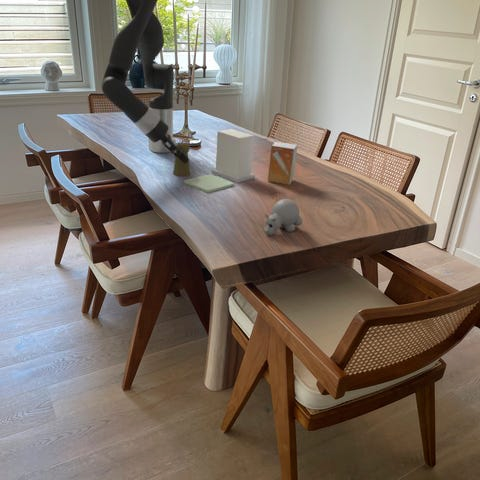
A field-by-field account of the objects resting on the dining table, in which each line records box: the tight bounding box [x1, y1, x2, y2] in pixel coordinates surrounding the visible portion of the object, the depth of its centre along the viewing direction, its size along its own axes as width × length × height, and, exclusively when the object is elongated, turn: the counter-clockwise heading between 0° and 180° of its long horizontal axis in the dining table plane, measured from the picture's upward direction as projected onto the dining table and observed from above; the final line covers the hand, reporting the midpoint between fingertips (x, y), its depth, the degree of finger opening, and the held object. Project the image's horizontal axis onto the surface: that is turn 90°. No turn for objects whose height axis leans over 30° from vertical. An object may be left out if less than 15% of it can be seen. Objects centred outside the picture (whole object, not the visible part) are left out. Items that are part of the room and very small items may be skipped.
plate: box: [183, 173, 235, 194], centre depth 155 cm, size 12×12×1 cm
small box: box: [267, 141, 298, 186], centre depth 160 cm, size 8×6×13 cm
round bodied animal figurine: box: [263, 198, 303, 236], centre depth 124 cm, size 7×12×8 cm, turn 129°
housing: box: [211, 128, 256, 184], centre depth 162 cm, size 13×9×15 cm
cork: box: [173, 141, 191, 177], centre depth 161 cm, size 6×6×11 cm
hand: (185, 158), depth 161 cm, fingers open, 8 cm apart
